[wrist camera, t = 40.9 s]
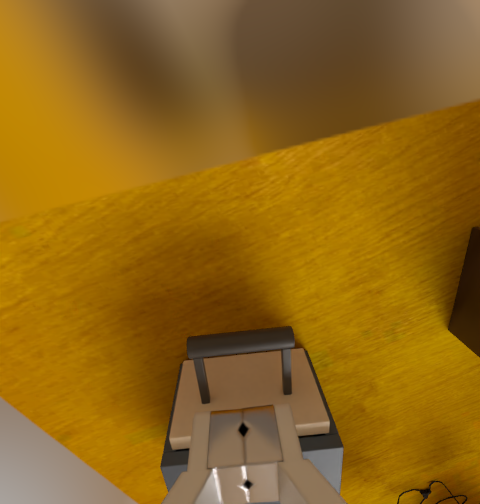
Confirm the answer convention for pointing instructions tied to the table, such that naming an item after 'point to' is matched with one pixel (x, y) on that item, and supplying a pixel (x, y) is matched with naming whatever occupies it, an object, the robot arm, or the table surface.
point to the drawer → (247, 380)
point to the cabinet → (313, 448)
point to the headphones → (428, 491)
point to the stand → (469, 298)
